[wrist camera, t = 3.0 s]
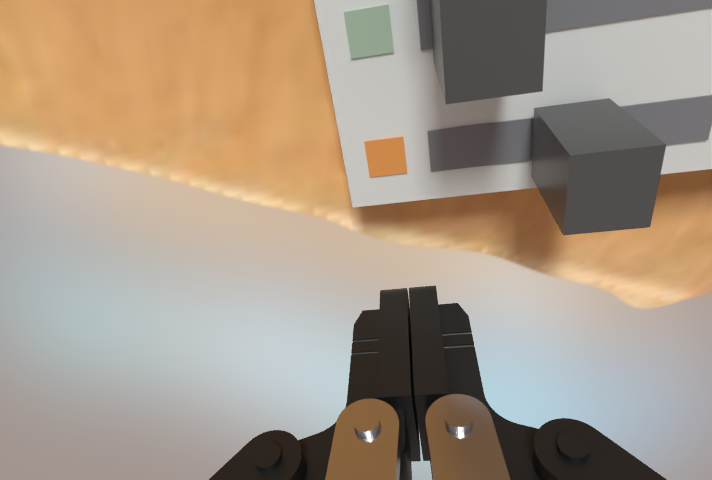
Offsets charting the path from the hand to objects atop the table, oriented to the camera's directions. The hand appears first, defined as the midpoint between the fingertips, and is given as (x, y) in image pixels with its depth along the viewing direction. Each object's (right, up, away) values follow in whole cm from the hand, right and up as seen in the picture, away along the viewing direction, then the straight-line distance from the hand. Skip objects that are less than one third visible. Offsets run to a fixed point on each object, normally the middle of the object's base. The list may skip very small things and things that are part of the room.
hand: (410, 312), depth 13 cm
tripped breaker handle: (+8, +6, +8) cm, 13 cm away
